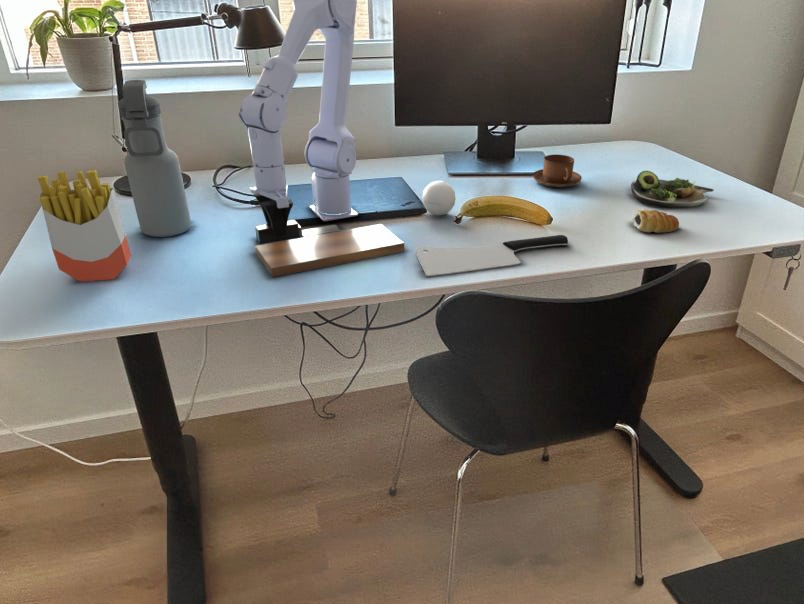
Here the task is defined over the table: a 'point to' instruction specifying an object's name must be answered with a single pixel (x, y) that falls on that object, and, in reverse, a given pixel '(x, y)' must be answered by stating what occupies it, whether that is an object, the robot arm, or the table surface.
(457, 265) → the kitchen cleaver
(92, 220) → the french fries container
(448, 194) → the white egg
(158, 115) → the water bottle
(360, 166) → the table surface
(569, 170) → the cup and saucer
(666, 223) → the pastry
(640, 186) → the salad plate
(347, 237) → the cutting board
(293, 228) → the two-tone stepped block
